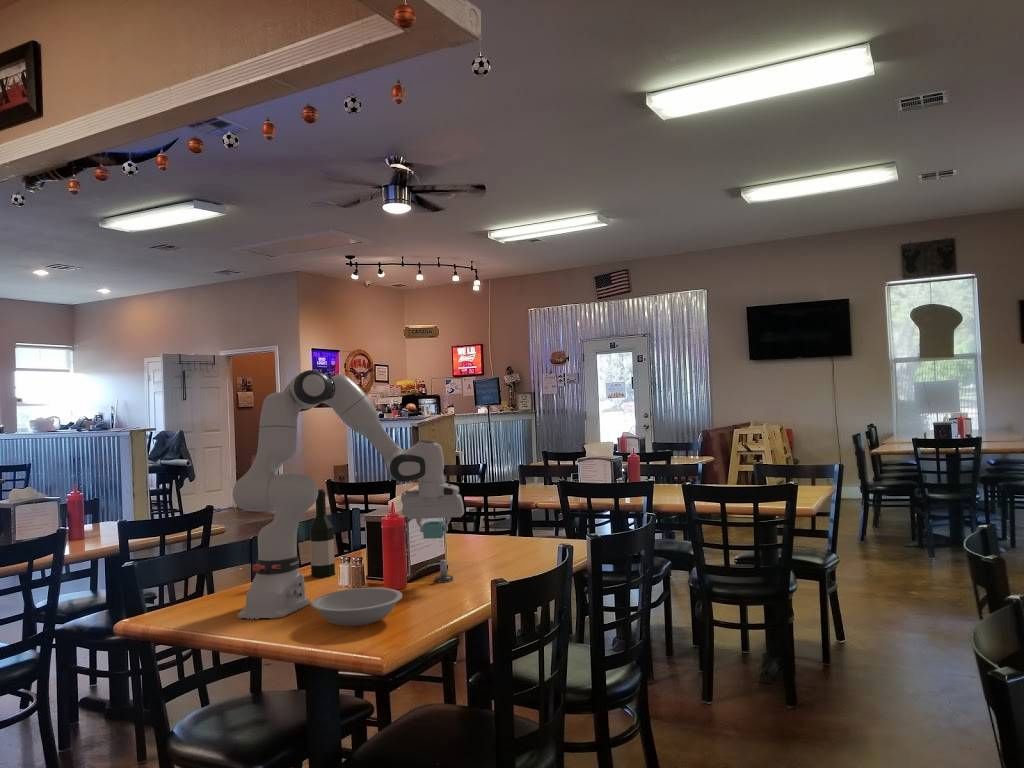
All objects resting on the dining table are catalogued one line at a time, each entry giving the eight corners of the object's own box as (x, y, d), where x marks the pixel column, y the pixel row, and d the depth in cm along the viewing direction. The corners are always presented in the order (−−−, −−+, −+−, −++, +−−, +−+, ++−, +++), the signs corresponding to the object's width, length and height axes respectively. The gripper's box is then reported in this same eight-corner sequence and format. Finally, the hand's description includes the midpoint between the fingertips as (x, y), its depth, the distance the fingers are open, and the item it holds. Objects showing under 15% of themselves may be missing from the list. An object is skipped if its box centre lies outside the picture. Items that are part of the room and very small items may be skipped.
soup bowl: (364, 606, 219) (363, 583, 219) (421, 618, 204) (420, 593, 204) (293, 627, 201) (292, 602, 201) (351, 642, 185) (350, 615, 186)
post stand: (451, 582, 245) (450, 562, 245) (433, 582, 245) (432, 562, 245) (454, 577, 250) (453, 558, 251) (436, 578, 251) (435, 558, 251)
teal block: (441, 538, 244) (441, 524, 244) (423, 538, 244) (422, 524, 244) (444, 534, 250) (444, 520, 250) (426, 534, 250) (426, 521, 250)
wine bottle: (331, 577, 259) (328, 490, 260) (307, 578, 259) (304, 491, 260) (338, 572, 268) (335, 487, 268) (314, 573, 268) (311, 488, 269)
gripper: (398, 492, 245) (400, 534, 245) (461, 489, 243) (463, 532, 243) (402, 489, 251) (405, 530, 251) (463, 486, 249) (465, 528, 250)
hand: (434, 531), depth 247 cm, fingers closed on teal block, 6 cm apart
